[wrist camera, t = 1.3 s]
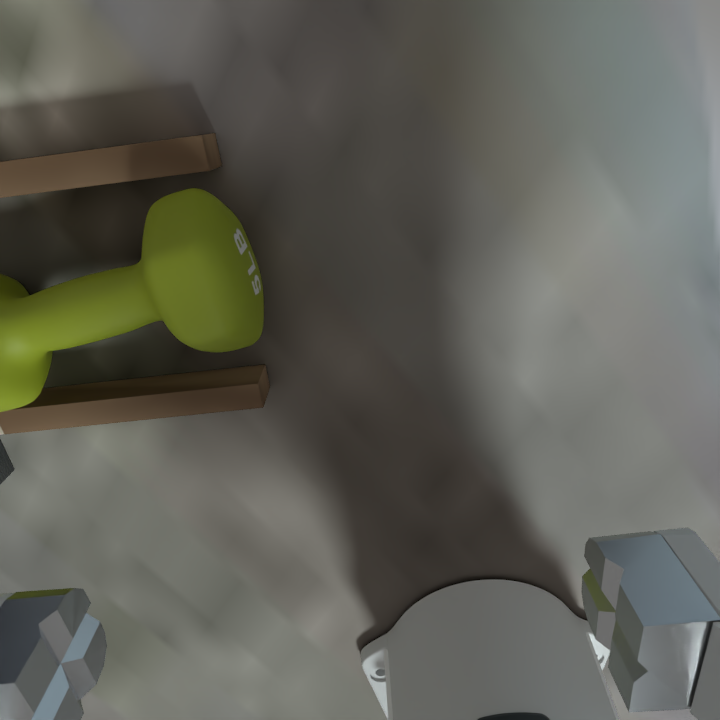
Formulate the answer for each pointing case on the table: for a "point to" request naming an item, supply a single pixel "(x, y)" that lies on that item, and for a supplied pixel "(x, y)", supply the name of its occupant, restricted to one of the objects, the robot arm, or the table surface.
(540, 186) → the table surface
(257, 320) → the dumbbell
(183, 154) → the beam slot
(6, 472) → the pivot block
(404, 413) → the table surface
